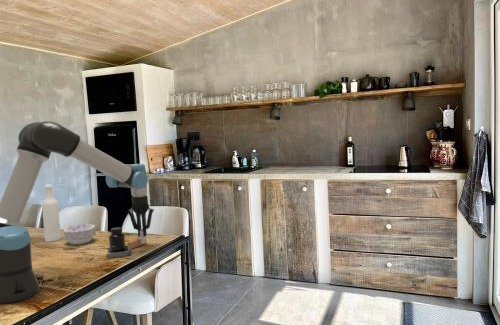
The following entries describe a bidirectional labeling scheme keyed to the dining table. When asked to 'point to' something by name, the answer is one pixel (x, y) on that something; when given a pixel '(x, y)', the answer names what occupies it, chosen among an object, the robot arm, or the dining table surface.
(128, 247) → the holder
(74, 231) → the paper bowls
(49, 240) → the bottle
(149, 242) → the dining table surface
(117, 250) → the supplement bottle
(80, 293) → the dining table surface
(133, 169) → the robot arm
